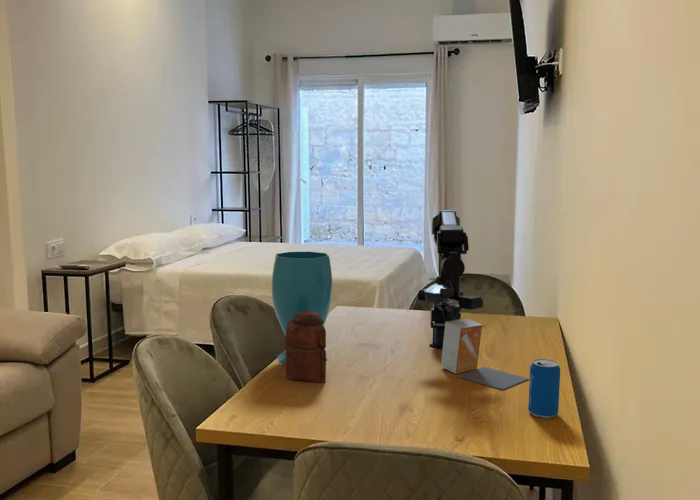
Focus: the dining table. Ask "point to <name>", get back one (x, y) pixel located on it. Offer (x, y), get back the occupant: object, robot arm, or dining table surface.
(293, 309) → the vase
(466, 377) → the mat
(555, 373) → the beverage can
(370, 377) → the dining table surface
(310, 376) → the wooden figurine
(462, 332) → the small box
